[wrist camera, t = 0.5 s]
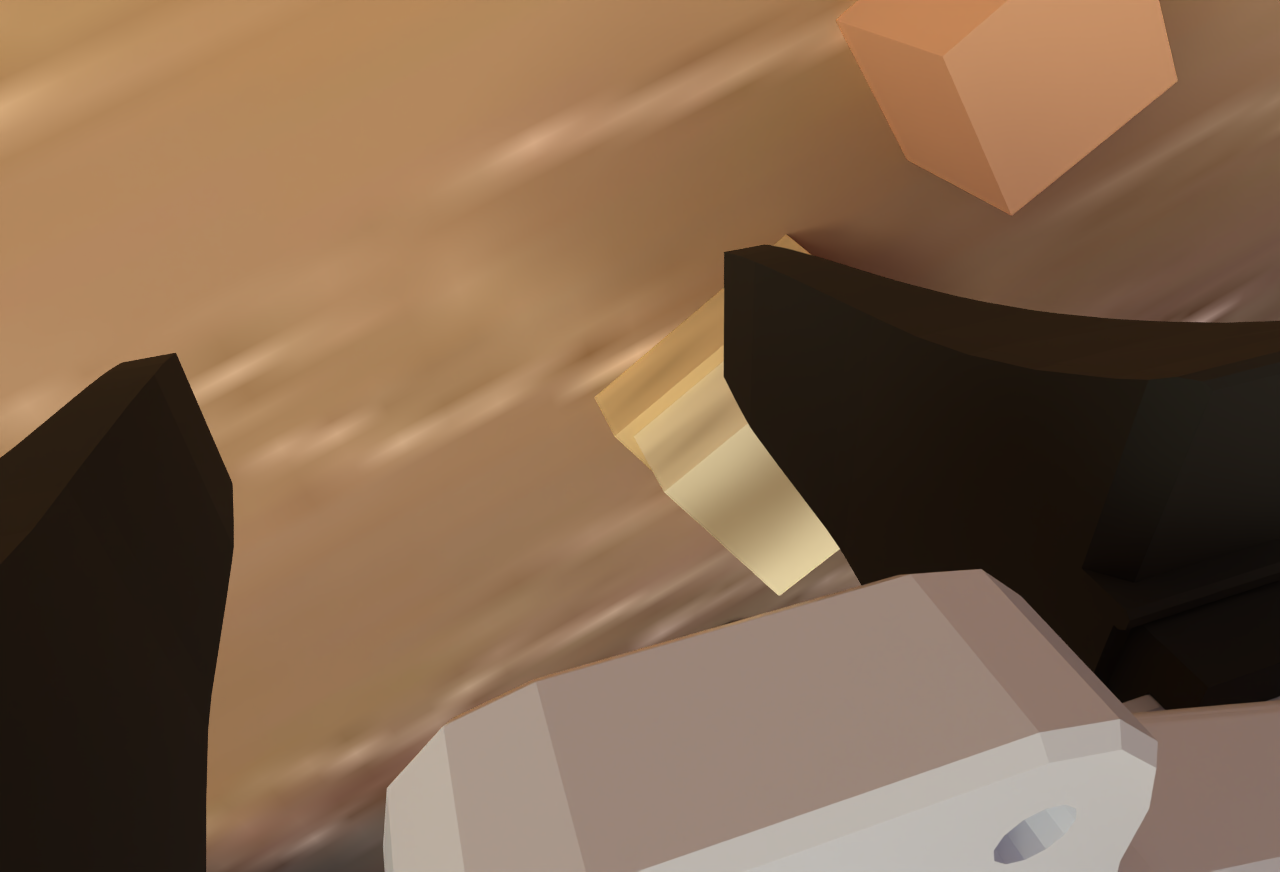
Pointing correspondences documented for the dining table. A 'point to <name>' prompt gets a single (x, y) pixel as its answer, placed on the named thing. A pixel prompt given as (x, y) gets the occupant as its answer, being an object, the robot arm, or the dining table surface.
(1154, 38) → the cube
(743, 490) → the top block
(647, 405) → the bottom block
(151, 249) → the dining table surface
